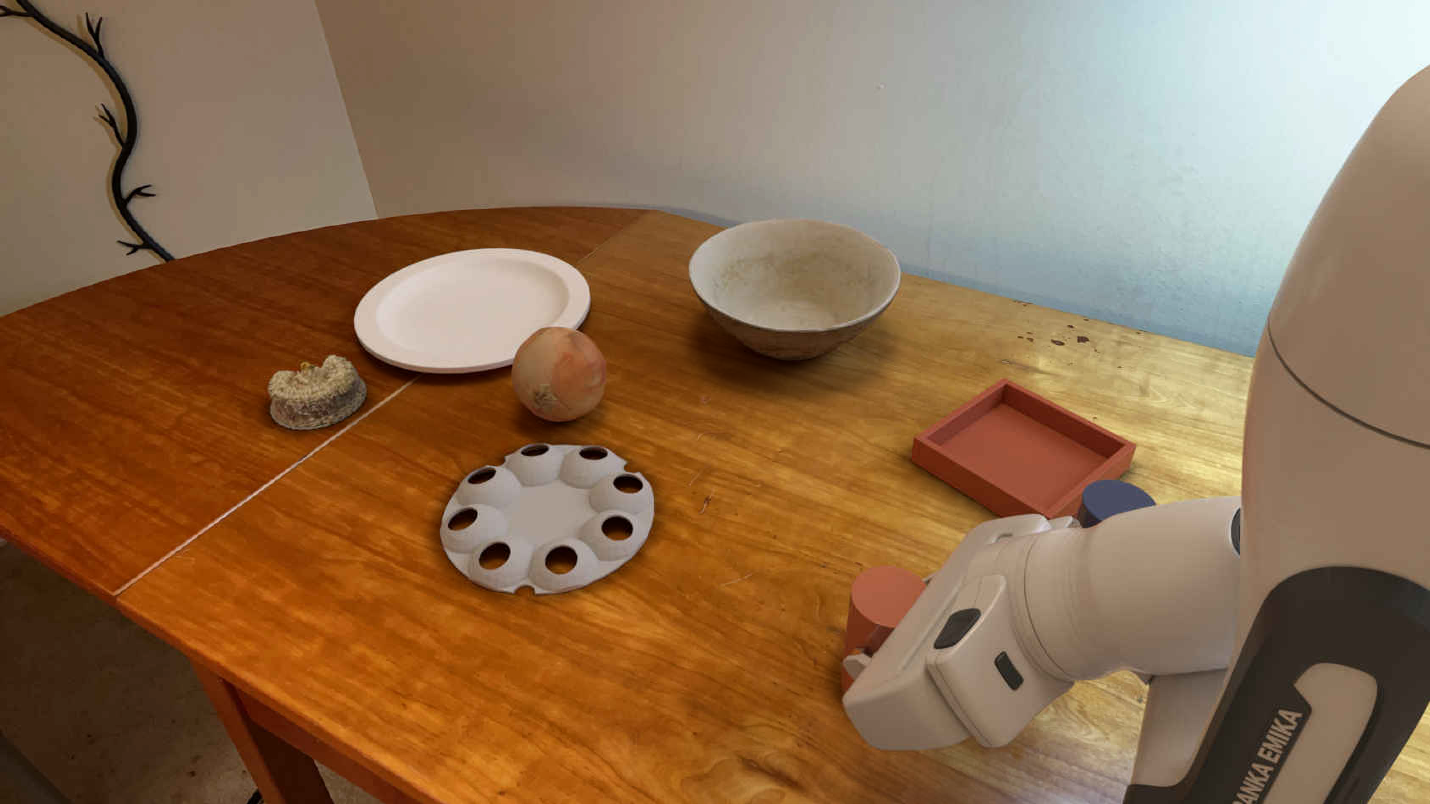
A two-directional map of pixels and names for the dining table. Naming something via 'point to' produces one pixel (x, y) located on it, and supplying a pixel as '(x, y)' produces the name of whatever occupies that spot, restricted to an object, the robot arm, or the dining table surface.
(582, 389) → the onion
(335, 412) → the cake
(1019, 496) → the rust tray
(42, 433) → the dining table surface
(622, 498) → the grey disc with holes
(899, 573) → the terracotta canister
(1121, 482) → the slate-blue canister
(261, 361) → the dining table surface
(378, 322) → the plate
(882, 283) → the bowl
